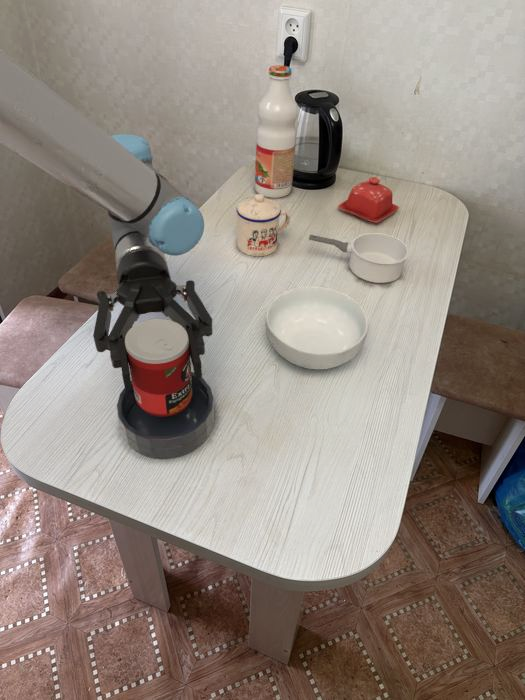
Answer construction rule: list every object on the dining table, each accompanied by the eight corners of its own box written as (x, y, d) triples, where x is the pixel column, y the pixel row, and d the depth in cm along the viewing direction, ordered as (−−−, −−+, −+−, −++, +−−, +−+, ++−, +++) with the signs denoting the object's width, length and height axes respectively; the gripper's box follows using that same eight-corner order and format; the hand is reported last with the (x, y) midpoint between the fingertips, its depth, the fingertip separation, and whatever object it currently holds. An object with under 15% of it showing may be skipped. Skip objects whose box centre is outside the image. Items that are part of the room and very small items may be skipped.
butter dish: (360, 195, 128) (366, 163, 122) (400, 212, 123) (408, 178, 117) (334, 211, 121) (339, 177, 116) (375, 229, 116) (383, 194, 110)
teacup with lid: (246, 261, 104) (247, 210, 96) (229, 239, 110) (229, 189, 102) (297, 250, 108) (302, 199, 100) (278, 229, 114) (282, 180, 106)
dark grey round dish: (112, 457, 69) (107, 437, 66) (132, 385, 78) (128, 365, 75) (209, 461, 69) (208, 441, 66) (217, 389, 79) (216, 369, 76)
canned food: (178, 425, 66) (172, 366, 59) (124, 408, 68) (111, 349, 61) (202, 385, 72) (199, 327, 64) (151, 370, 73) (142, 311, 66)
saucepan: (311, 245, 110) (314, 222, 106) (404, 260, 107) (410, 237, 103) (301, 274, 102) (304, 250, 98) (401, 292, 99) (408, 268, 95)
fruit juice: (289, 200, 124) (299, 76, 105) (251, 196, 125) (255, 72, 106) (293, 183, 131) (304, 64, 112) (257, 179, 132) (262, 60, 113)
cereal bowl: (259, 317, 92) (261, 285, 87) (348, 314, 93) (355, 283, 88) (269, 386, 80) (271, 354, 75) (371, 382, 81) (380, 350, 76)
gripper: (210, 281, 81) (246, 383, 65) (76, 298, 76) (79, 412, 61) (209, 240, 76) (247, 340, 60) (65, 256, 71) (66, 368, 55)
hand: (163, 376), depth 60 cm, fingers closed on canned food, 8 cm apart
